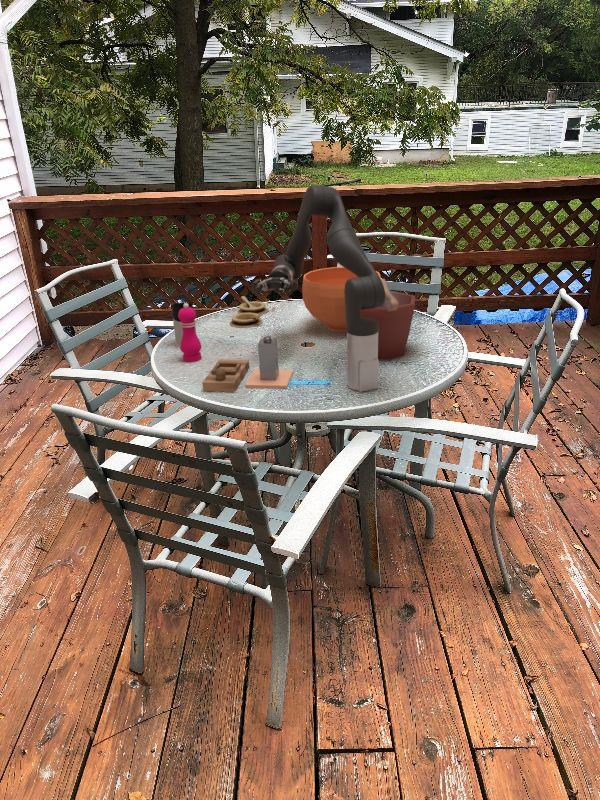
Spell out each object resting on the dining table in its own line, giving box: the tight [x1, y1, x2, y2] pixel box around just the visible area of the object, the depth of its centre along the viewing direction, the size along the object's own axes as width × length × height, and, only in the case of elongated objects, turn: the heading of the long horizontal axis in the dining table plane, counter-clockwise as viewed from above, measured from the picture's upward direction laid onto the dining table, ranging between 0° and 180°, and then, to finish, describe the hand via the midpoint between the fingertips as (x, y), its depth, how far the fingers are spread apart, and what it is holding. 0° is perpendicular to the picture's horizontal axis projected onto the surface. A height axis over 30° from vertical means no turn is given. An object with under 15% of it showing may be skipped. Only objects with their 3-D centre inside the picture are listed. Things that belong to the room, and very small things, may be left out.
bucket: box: [360, 278, 416, 361], centre depth 213 cm, size 24×22×25 cm
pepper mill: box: [178, 303, 202, 363], centre depth 215 cm, size 7×7×20 cm
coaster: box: [244, 368, 294, 389], centre depth 199 cm, size 13×13×1 cm
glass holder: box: [171, 301, 197, 348], centre depth 229 cm, size 9×14×15 cm, turn 28°
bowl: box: [301, 266, 382, 333], centre depth 241 cm, size 30×30×20 cm
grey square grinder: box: [257, 335, 280, 380], centre depth 196 cm, size 5×5×13 cm
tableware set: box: [229, 295, 277, 329], centre depth 262 cm, size 30×20×6 cm, turn 175°
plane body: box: [202, 358, 250, 393], centre depth 200 cm, size 20×10×6 cm, turn 172°
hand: (271, 290), depth 198 cm, fingers open, 8 cm apart
